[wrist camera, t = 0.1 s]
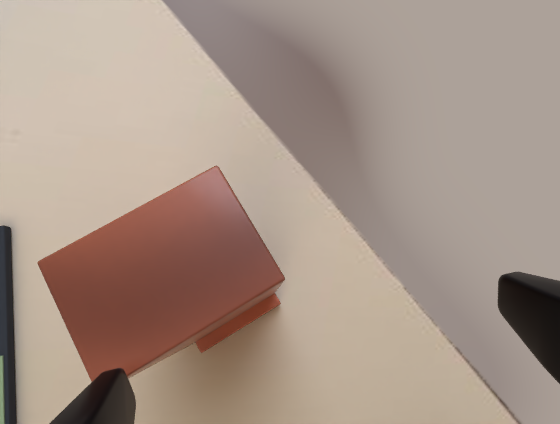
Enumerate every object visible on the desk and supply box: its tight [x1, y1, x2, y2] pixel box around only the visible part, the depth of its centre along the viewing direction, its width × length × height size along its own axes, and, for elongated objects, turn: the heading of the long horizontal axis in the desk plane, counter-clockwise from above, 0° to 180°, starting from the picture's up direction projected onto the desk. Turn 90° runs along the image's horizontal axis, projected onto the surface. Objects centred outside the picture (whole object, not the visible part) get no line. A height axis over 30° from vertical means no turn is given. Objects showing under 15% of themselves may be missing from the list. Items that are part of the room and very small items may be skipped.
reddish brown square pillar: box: [38, 166, 285, 382], centre depth 15 cm, size 5×5×13 cm
